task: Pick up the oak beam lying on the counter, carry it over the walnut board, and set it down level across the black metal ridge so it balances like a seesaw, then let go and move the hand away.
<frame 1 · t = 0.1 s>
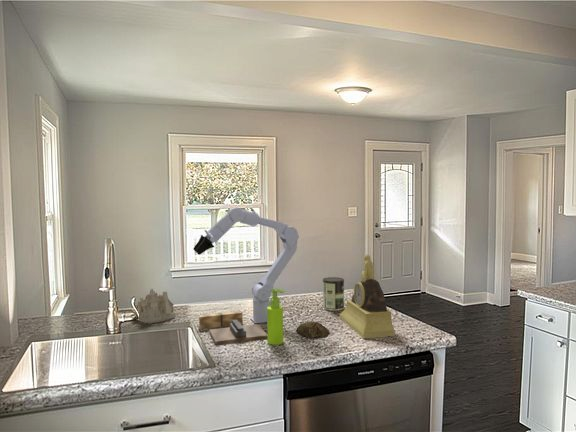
hand: (195, 252, 179), 32 cm above the counter, fingers open, 7 cm apart
coffee can: (333, 308, 208), on the counter
sand castle: (155, 318, 196), on the counter
oak beam: (221, 325, 183), on the counter
soap dispenser: (276, 342, 162), on the counter
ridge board: (237, 335, 170), on the counter
decorative clock: (365, 327, 179), on the counter
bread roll: (313, 334, 172), on the counter
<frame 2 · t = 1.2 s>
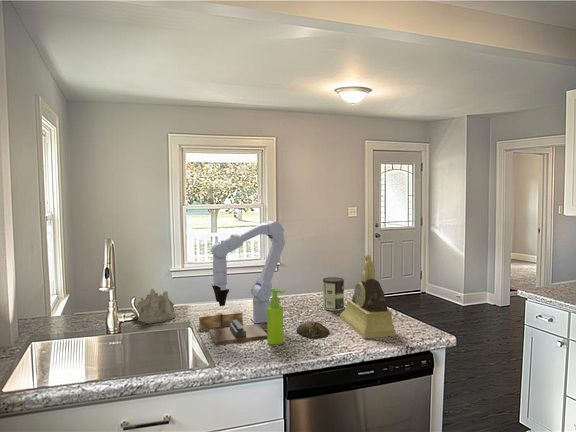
hand: (220, 303, 182), 9 cm above the counter, fingers open, 7 cm apart
nothing on the counter moved.
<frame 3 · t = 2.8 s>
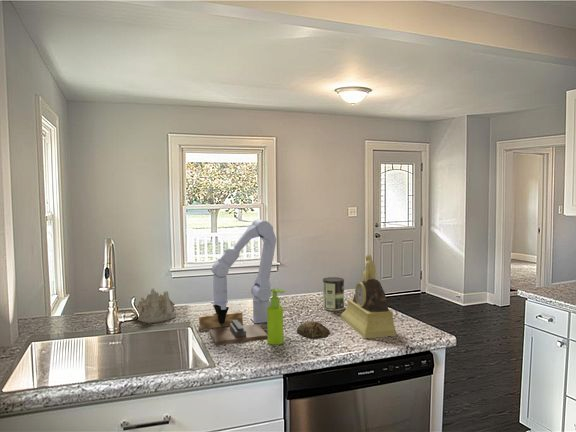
hand: (221, 322, 183), 1 cm above the counter, fingers closed on oak beam, 3 cm apart
oak beam: (221, 325, 183), on the counter, touching gripper
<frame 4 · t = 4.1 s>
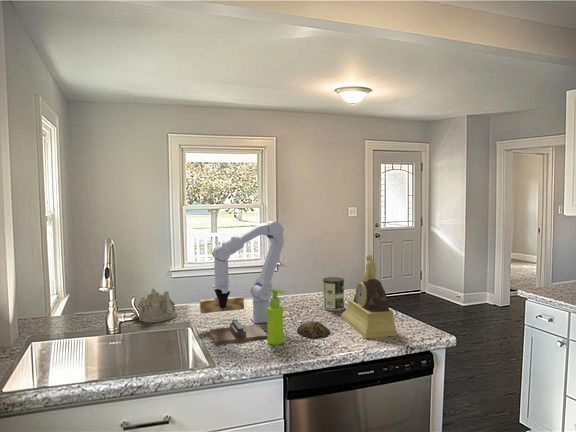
hand: (222, 306, 181), 8 cm above the counter, fingers closed on oak beam, 3 cm apart
oak beam: (222, 310, 181), point 7 cm above the counter, touching gripper
everything else where it was.
when the fingers open (7 cm above the counter, at t = 5.6 s): oak beam stays where it is, resting on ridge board.
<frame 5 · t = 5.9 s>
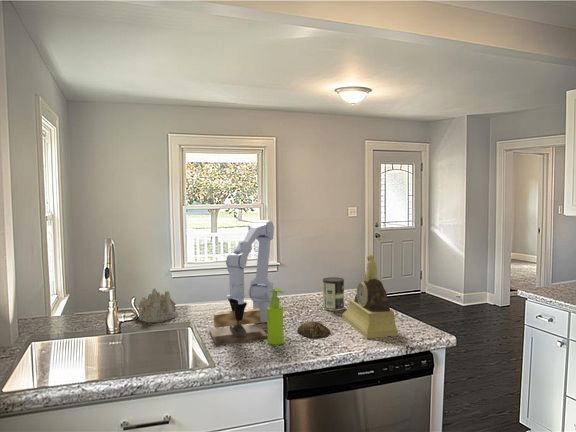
hand: (237, 318, 170), 7 cm above the counter, fingers open, 6 cm apart
oak beam: (237, 324, 170), point 4 cm above the counter, touching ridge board
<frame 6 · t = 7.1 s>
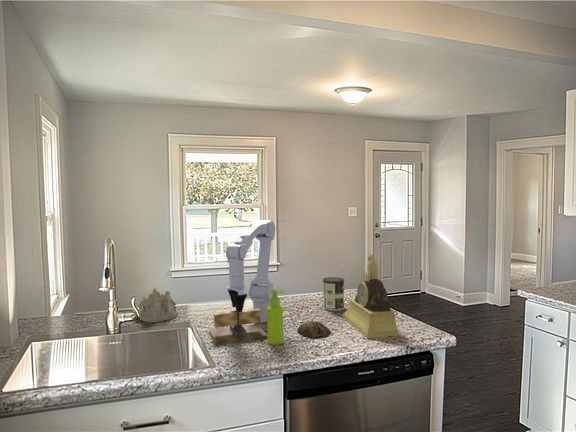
hand: (237, 309, 169), 10 cm above the counter, fingers open, 7 cm apart
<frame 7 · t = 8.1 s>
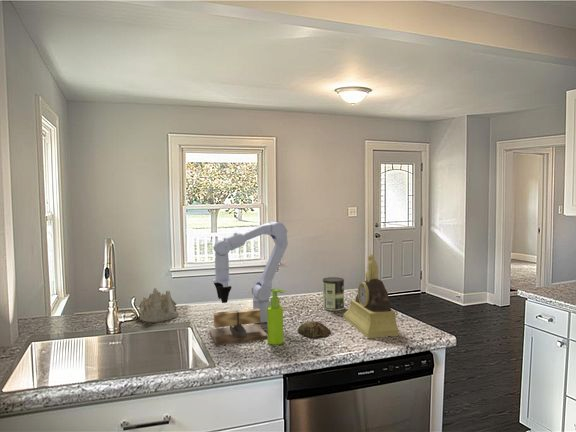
hand: (222, 300, 184), 10 cm above the counter, fingers open, 7 cm apart
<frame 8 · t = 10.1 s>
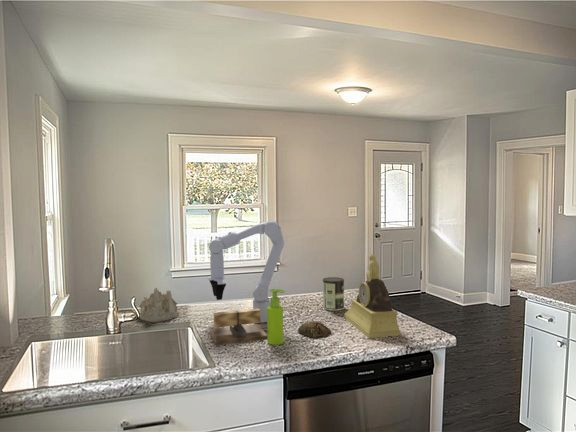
hand: (217, 297, 189), 10 cm above the counter, fingers open, 7 cm apart
at the end: oak beam 0.1 cm off-centre on the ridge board, point 4.5 cm above the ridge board's base; oak beam tilted 0°; the gripper is holding nothing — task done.
